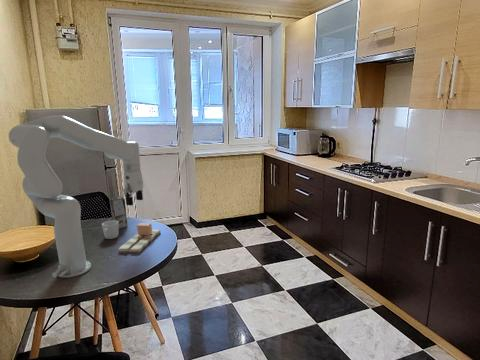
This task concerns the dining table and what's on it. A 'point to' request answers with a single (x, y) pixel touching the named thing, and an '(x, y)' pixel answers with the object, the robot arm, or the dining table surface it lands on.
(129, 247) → the slider board
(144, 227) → the fader tab
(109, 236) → the cup
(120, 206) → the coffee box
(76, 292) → the dining table surface
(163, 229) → the dining table surface
